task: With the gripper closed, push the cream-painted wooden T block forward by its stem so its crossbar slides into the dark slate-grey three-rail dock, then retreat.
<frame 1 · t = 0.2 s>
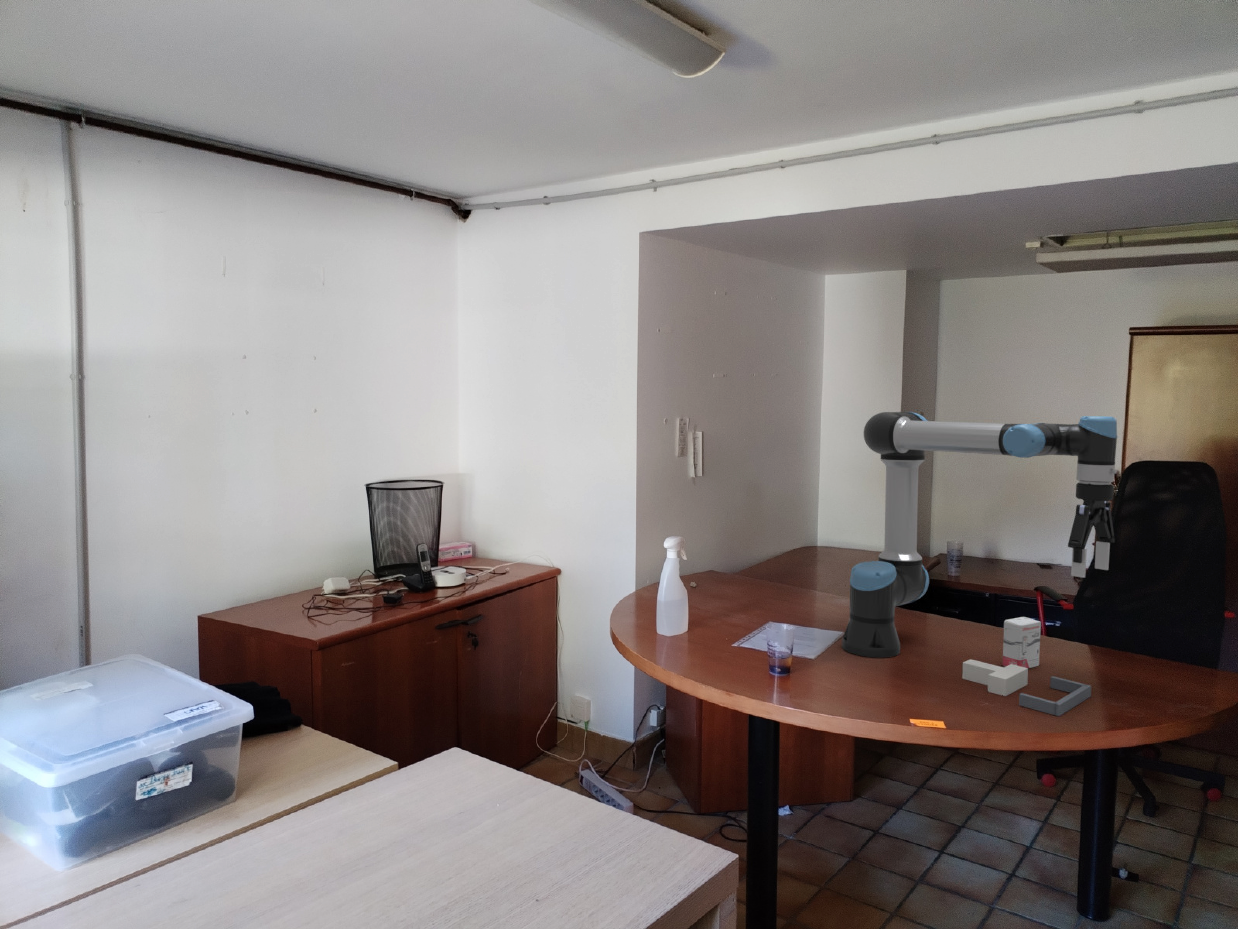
hand: (1090, 572, 184), 28 cm above the table, fingers open, 13 cm apart
dock: (1057, 701, 178), on the table
ink box: (1020, 666, 202), on the table
t block: (990, 683, 189), on the table
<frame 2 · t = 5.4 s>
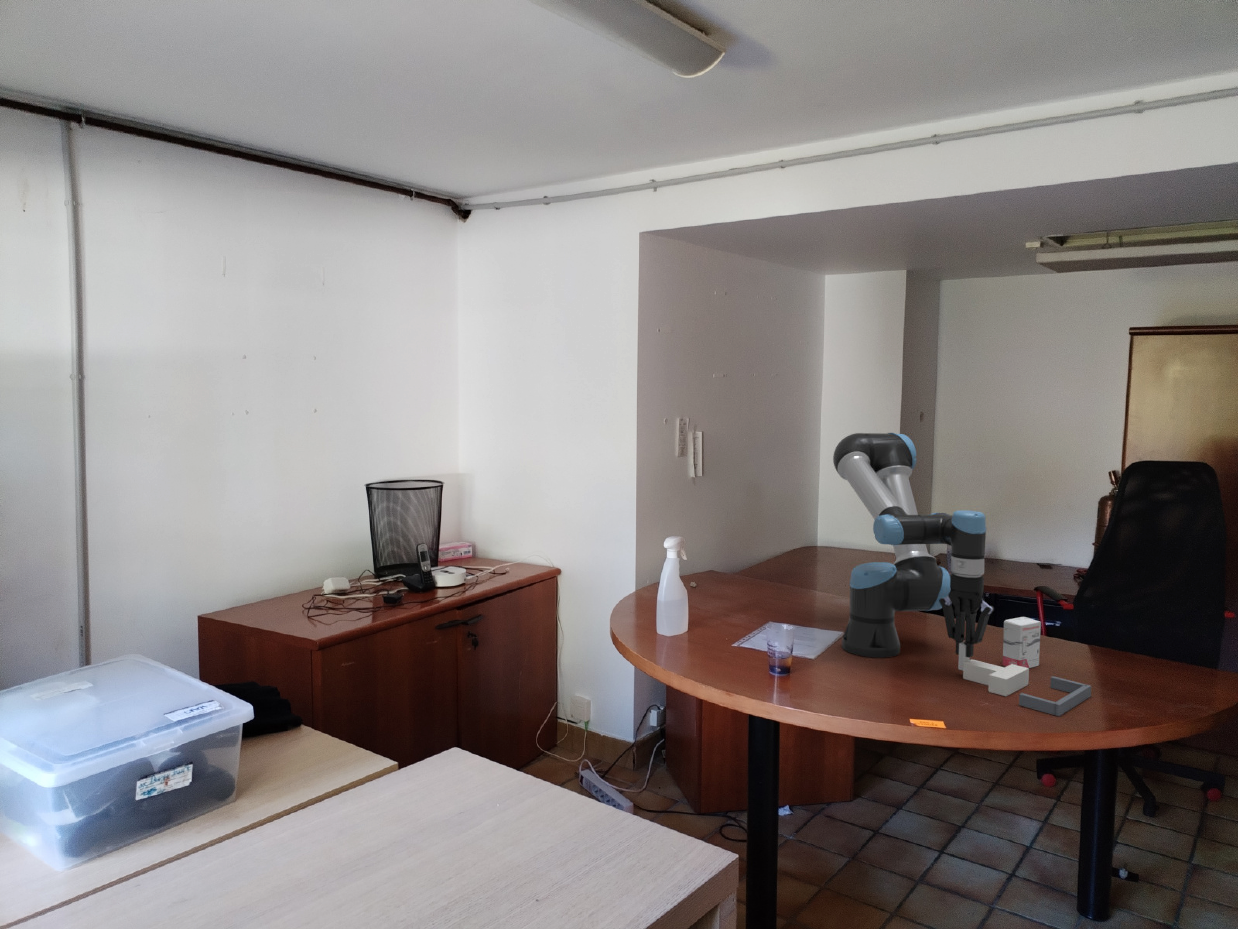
hand: (963, 668, 194), 2 cm above the table, fingers closed
t block: (991, 683, 189), on the table, touching gripper
everything else where it was.
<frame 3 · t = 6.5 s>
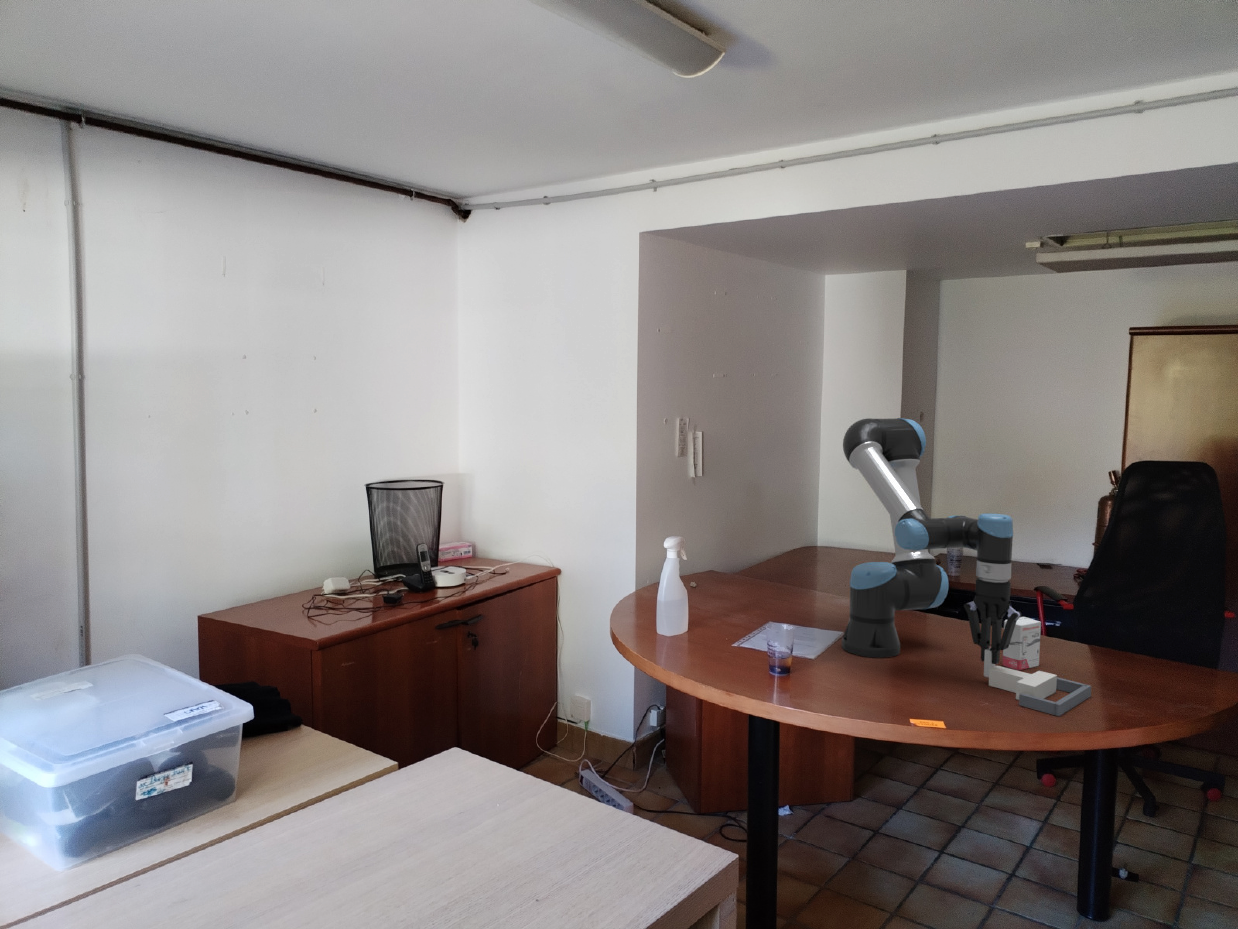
hand: (989, 675, 189), 2 cm above the table, fingers closed
t block: (1018, 690, 184), on the table, touching gripper
everything else where it was.
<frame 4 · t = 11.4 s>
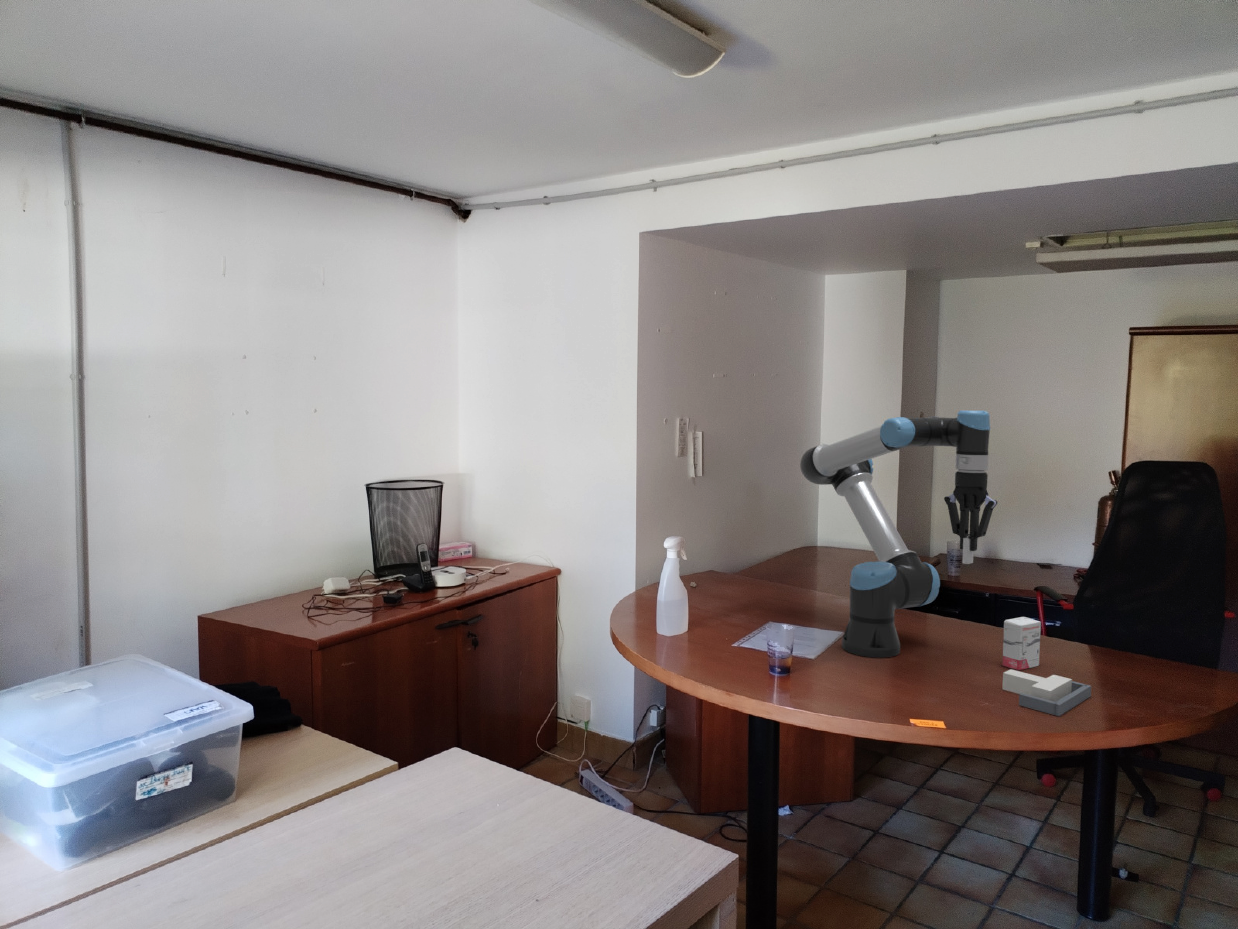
hand: (967, 562, 201), 26 cm above the table, fingers closed
t block: (1032, 694, 182), on the table
everything else where it was.
at the end: t block 0.9 cm from the target spot, on the table; t block moved 9.6 cm from its start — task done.
